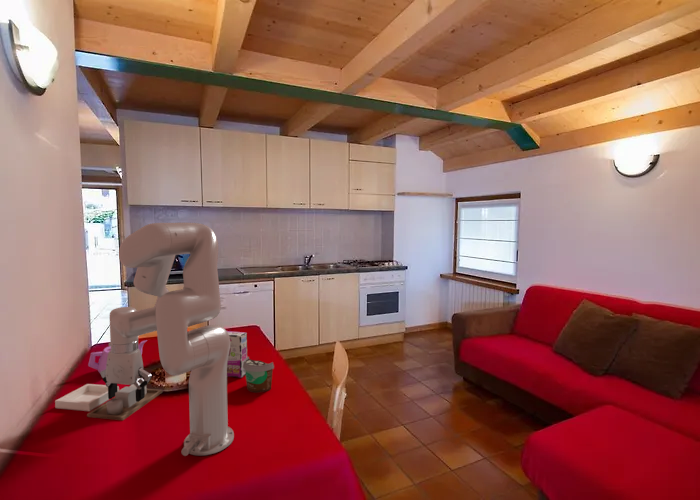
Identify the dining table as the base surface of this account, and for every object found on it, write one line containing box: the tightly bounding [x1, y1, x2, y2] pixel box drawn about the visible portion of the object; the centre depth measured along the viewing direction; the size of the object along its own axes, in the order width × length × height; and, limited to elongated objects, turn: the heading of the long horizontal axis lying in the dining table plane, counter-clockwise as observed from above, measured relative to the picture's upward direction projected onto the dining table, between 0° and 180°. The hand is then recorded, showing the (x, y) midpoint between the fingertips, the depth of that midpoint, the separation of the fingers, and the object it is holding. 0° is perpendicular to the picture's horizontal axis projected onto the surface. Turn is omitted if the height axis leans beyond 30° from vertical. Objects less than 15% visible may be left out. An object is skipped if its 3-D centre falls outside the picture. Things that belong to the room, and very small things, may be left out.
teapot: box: [87, 339, 148, 374], centre depth 144 cm, size 13×20×11 cm
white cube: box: [128, 382, 148, 394], centre depth 123 cm, size 4×4×4 cm
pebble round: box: [106, 398, 123, 415], centre depth 112 cm, size 4×4×4 cm
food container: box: [243, 356, 275, 394], centre depth 129 cm, size 12×6×10 cm, turn 62°
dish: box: [54, 383, 120, 412], centre depth 120 cm, size 12×12×3 cm
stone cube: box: [115, 386, 137, 408], centre depth 118 cm, size 4×4×4 cm
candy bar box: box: [226, 330, 248, 379], centre depth 142 cm, size 11×5×16 cm, turn 76°
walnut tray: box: [86, 388, 163, 421], centre depth 118 cm, size 18×12×1 cm, turn 172°
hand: (126, 398), depth 118 cm, fingers open, 9 cm apart
